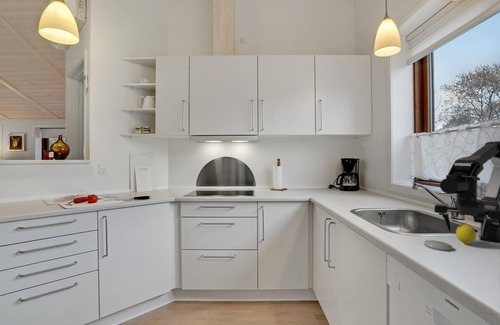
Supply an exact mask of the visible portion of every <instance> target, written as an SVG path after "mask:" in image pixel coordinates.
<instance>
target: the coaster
mask: <svg viewBox="0 0 500 325" xmlns="http://www.w3.org/2000/svg"><path fill="white" fill-rule="evenodd" d="M423 246H424V247H426V246H427V248H428V249H432V250H436V251H440V252H441V251H442V252H452V251H453V246H452V245H451V244H449V243H447V242H444V241H439V240H433V239H430V240H429V239H427V240H424V242H423Z"/></svg>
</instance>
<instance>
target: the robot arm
mask: <svg viewBox="0 0 500 325" xmlns="http://www.w3.org/2000/svg"><path fill="white" fill-rule="evenodd" d="M490 160H491V162H492V164H493V167H492V171H491V174H490V177H489V181H488V184H487V187H486V189H485V190H486V191H485V193H484V197H483V198H481V199H478V181H481V178H480V177H479V175H480V173H481V172H482V171H483V170H484V169H485V168H484V164H486V163H487V162H488V161H490ZM439 188H440V190H441V191H442V192H443V194H444V193H445V194H447V195H452V194H454V195H455V194H456V200H455V201H456V203H455V204H456V206H455V207H454V206H448V204H445V203H435V204H434V213H437V214H438V216H441V217H442V218H443V219H444V222H445V223H446V227H447V229H448V232H452V231H451V229H452V227H451V220H450V216H449V215H450V214H449V212H450V213H458V214H459V215H460V216H470V217H472V218H473V222H474V223H479V224H480V234H478V238H479V240H480V241H487V242H493V243H498V244H500V140H499V141H498V140H497V141H495V140H494V141H487V142H485V143H484V145H482V147H480V148H479V149H478V150H476V151H475V152H473V153H472V154H470V155H468V156H463V157H460V158H457V159H456V160H455V161H454V162H453V164H452V165H451V168H450V169H449V171H448V173H447V174H446V175H445V178H444V179H442V180H441V181H440V184H439Z"/></svg>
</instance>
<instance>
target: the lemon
mask: <svg viewBox="0 0 500 325" xmlns="http://www.w3.org/2000/svg"><path fill="white" fill-rule="evenodd" d="M455 236H456V238H457V240H459V241H460V242H461V243H463V244H464V245H468V244H471V243H473V242H474V241H475V240H476V237H477V233H476V230H475V228H474V227H473V226H472V225H470V224H468V223H467V222H466V223H465V222H464V223H461V224H459V225H458V226H457V227H456V230H455Z"/></svg>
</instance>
